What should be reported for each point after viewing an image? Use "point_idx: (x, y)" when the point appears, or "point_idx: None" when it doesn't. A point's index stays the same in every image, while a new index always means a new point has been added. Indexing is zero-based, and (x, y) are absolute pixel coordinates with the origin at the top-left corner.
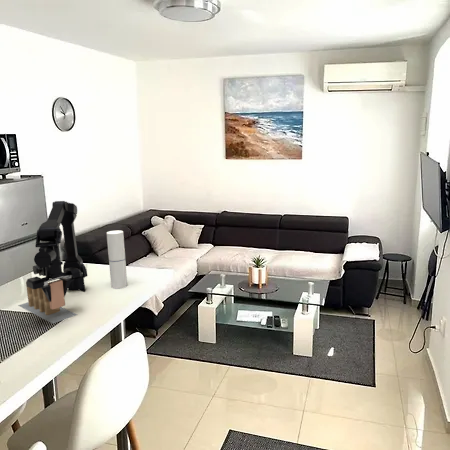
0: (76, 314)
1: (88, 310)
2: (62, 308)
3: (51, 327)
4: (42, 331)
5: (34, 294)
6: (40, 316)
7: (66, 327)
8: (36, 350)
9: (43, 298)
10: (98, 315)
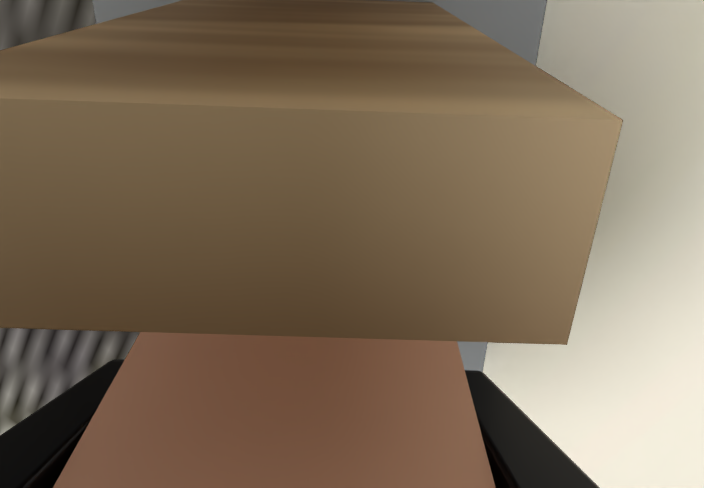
0: (475, 365)
1: (677, 310)
2: (522, 9)
3: None
4: (18, 384)
5: None
6: (108, 20)
7: None
8: None
9: (86, 29)
10: (608, 483)
